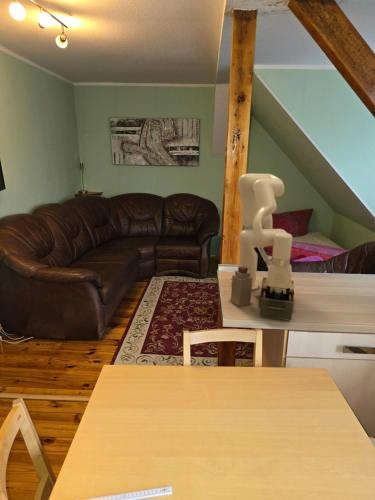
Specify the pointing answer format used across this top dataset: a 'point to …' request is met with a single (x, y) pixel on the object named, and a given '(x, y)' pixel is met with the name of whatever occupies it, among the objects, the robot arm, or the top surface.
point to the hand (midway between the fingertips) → (276, 300)
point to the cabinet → (273, 290)
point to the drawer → (276, 306)
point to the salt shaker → (277, 294)
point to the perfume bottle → (241, 287)
